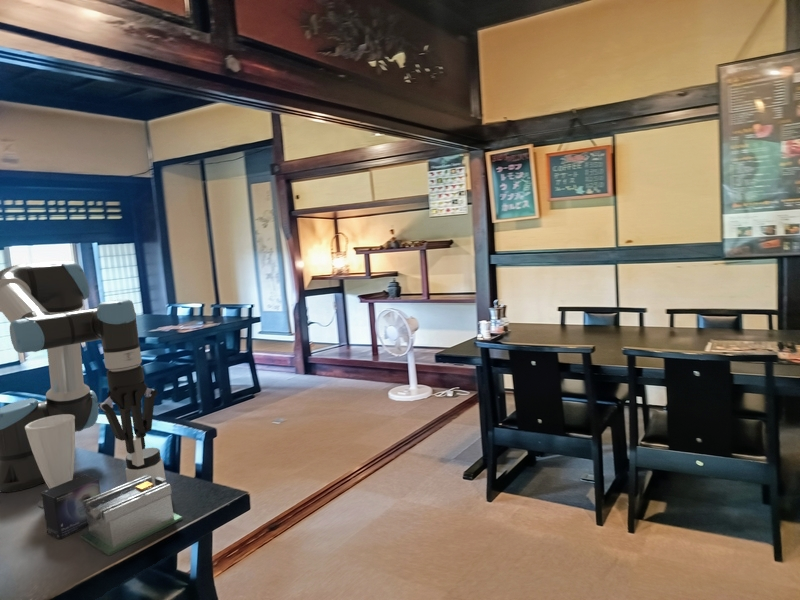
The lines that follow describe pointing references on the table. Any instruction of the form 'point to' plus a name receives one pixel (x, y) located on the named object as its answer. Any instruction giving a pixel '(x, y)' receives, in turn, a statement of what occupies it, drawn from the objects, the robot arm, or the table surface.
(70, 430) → the cup
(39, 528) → the table surface
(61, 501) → the small box
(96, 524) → the heatsink
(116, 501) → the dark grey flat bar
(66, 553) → the table surface
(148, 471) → the jar
